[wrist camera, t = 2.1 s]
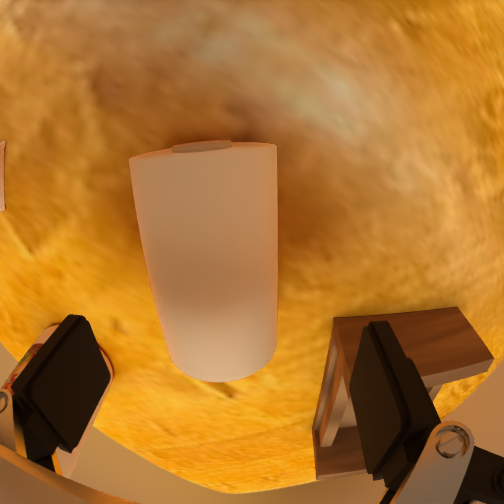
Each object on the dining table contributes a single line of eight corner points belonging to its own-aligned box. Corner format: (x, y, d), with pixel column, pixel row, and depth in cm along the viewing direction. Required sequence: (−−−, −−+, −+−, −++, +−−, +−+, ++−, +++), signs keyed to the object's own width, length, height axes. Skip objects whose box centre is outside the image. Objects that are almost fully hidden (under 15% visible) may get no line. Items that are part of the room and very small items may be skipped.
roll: (177, 140, 15) (97, 160, 10) (289, 136, 13) (248, 148, 8) (198, 305, 19) (149, 366, 14) (287, 320, 17) (258, 397, 12)
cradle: (334, 318, 18) (352, 387, 13) (457, 306, 18) (494, 358, 12) (311, 429, 24) (316, 479, 19) (404, 416, 24) (417, 460, 19)
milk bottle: (125, 357, 21) (41, 578, 3) (105, 394, 24) (42, 561, 6) (49, 305, 19) (-74, 496, 1) (42, 352, 22) (-43, 504, 4)
